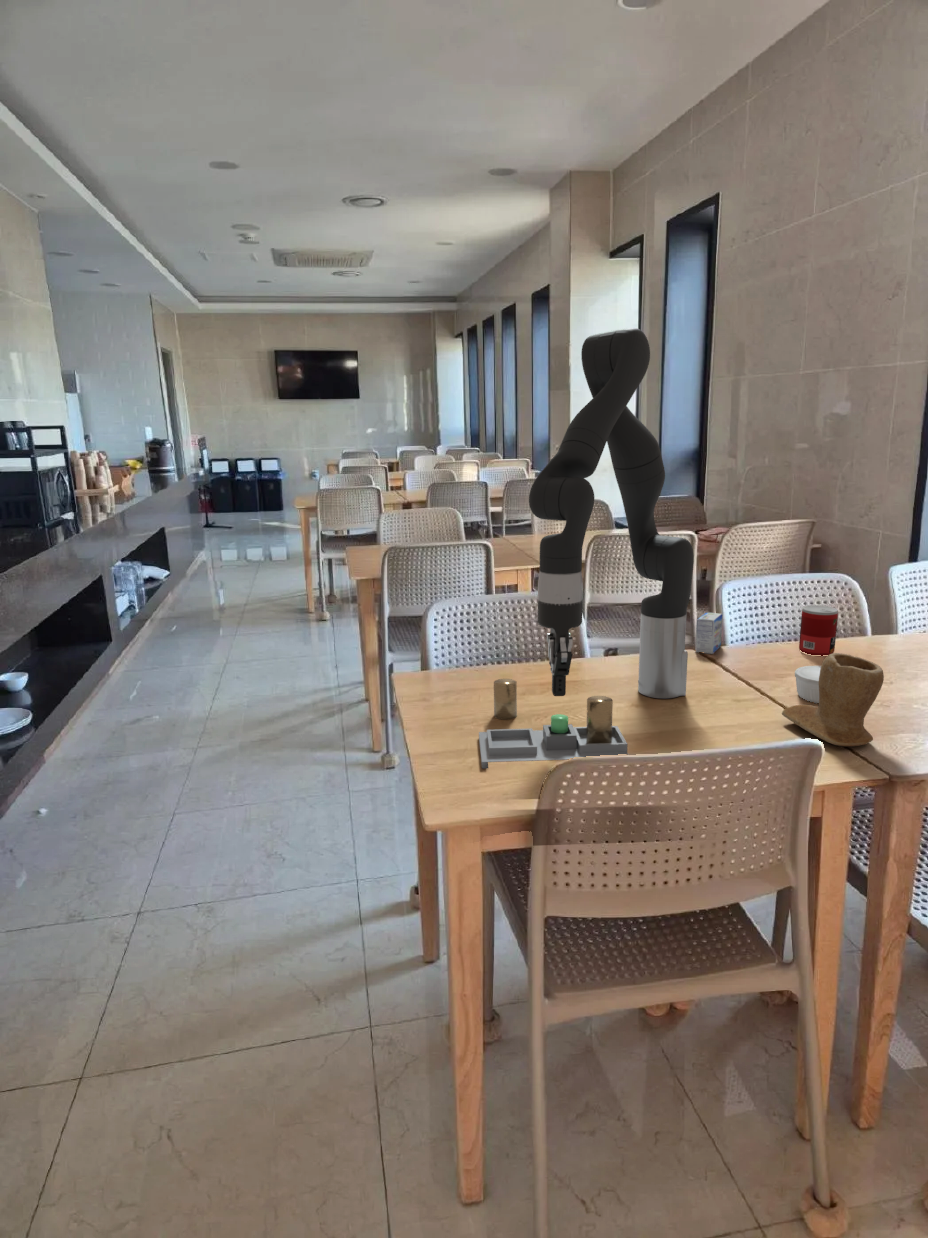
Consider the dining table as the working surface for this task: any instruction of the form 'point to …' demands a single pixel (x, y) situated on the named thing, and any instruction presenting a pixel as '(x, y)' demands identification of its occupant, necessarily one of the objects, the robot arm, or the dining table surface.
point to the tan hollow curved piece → (841, 701)
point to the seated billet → (599, 720)
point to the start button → (559, 723)
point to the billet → (505, 699)
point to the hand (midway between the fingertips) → (558, 694)
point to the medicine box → (708, 633)
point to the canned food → (818, 630)
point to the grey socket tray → (544, 744)
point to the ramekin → (808, 682)
